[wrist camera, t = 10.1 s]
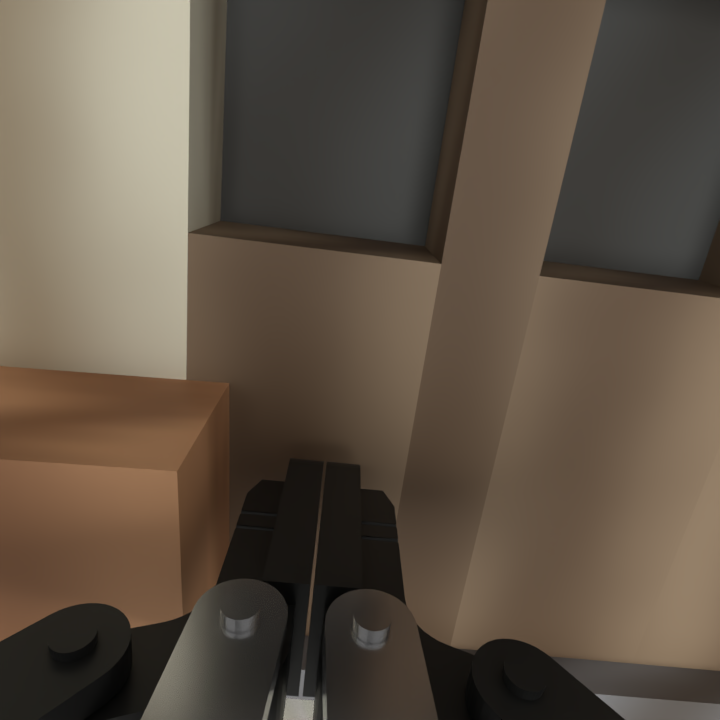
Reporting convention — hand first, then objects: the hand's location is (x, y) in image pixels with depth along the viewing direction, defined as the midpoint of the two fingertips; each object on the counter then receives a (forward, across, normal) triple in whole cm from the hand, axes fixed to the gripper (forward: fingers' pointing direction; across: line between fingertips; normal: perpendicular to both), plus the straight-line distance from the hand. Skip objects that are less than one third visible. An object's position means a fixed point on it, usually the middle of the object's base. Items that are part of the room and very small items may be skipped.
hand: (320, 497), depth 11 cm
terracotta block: (+1, +5, +1) cm, 5 cm away
